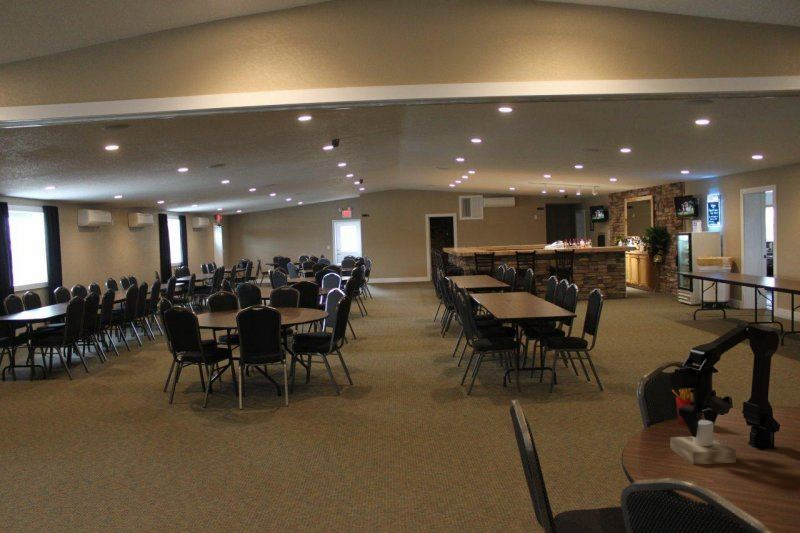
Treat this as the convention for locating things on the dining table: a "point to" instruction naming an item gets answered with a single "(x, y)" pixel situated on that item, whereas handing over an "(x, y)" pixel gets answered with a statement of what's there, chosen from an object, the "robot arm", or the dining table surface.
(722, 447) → the birch block
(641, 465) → the dining table surface
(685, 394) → the french fries
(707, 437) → the white cup
